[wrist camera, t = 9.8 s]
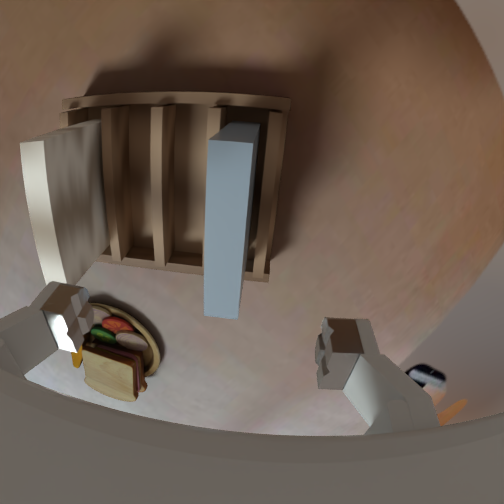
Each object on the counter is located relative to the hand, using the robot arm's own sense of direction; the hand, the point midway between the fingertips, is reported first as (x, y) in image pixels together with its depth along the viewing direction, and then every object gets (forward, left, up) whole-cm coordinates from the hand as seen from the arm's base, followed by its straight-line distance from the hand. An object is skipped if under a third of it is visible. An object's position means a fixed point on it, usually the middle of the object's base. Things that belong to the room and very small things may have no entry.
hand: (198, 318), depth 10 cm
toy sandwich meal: (+21, -14, -17) cm, 31 cm away
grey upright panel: (0, 0, -15) cm, 15 cm away
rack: (0, -6, -17) cm, 17 cm away
